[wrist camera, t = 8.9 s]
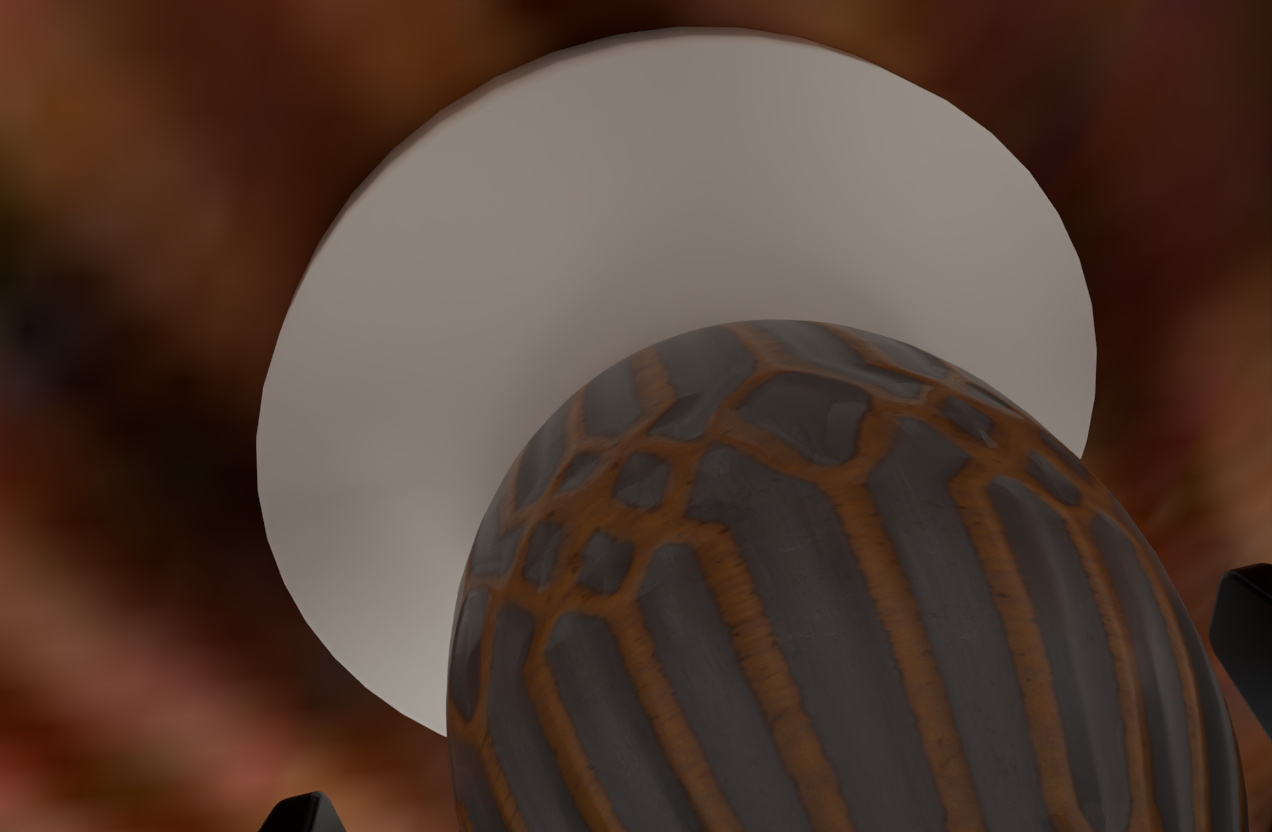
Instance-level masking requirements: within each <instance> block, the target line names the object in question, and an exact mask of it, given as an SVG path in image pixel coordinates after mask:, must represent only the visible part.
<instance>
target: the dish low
mask: <svg viewBox="0 0 1272 832" xmlns="http://www.w3.org/2000/svg"><path fill="white" fill-rule="evenodd" d="M764 319H771V320H803V321H815V322H826V323H832V324H838V325H844V326H849V327H853V328H857V329H861V330H865V331H869V332H872V333H875V334H879V335H882V336H886V337H889V338H892V339H895V340H898V341H901V342H904V343H907V344H910V345H913V346H915V347H917V348H920V349H922V350H924V351H926V352H929V353H931V354H933V355H935V356H937V357H939V358H941V359H943V360H945V361H947V362H950V363H952V364H954V365H956V366H958V367H960V368H962V369H964V370H966V371H967V372H969V373H971V374H973V375H974V376H976V377H978V378H980V379H981V380H983V381H985V382H986V383H987V384H989V385H990V386H992V387H993V388H994V389H996V390H997V391H999V392H1000V393H1001V394H1003V395H1004V396H1006V397H1007V398H1008V399H1010V400H1011V401H1012V402H1014V403H1015V404H1016V405H1018V406H1019V407H1020V408H1022V409H1023V410H1024V411H1026V412H1027V413H1028V414H1030V415H1031V416H1032V417H1033V418H1035V419H1036V420H1037V421H1038V422H1039V423H1040V424H1041V425H1042V426H1044V427H1045V428H1046V429H1047V430H1048V431H1049V432H1050V433H1051V434H1053V435H1054V436H1055V437H1056V438H1057V439H1058V440H1059V441H1060V442H1062V443H1063V444H1064V445H1065V446H1066V447H1067V448H1068V449H1069V450H1070V451H1072V452H1073V453H1074V454H1075V455H1076V456H1077V457H1078V458H1079V459H1080V460H1081V457H1082V454H1083V451H1084V448H1085V445H1086V441H1087V437H1088V431H1089V426H1090V420H1091V415H1092V409H1093V404H1094V398H1095V382H1096V356H1097V348H1096V339H1095V330H1094V321H1093V312H1092V303H1091V300H1090V296H1089V293H1088V289H1087V285H1086V282H1085V278H1084V274H1083V271H1082V267H1081V264H1080V260H1079V257H1078V255H1077V253H1076V251H1075V248H1074V246H1073V244H1072V242H1071V240H1070V238H1069V235H1068V233H1067V231H1066V229H1065V227H1064V225H1063V223H1062V220H1061V218H1060V216H1059V214H1058V212H1057V211H1056V209H1055V208H1054V207H1053V205H1052V204H1051V202H1050V201H1049V199H1048V198H1047V196H1046V195H1045V194H1044V192H1043V191H1042V189H1041V188H1040V186H1039V185H1038V183H1037V182H1036V180H1035V179H1034V178H1033V176H1032V175H1031V173H1030V172H1029V171H1028V170H1027V169H1026V168H1025V167H1024V166H1023V165H1022V164H1021V163H1020V162H1019V160H1018V159H1017V158H1016V157H1015V156H1014V155H1013V154H1012V153H1011V152H1010V151H1009V150H1008V149H1007V148H1006V147H1005V146H1004V145H1003V144H1002V143H1001V142H1000V141H999V140H998V139H997V138H996V137H995V136H994V135H993V134H992V133H991V132H989V131H988V130H987V129H985V128H984V127H982V126H981V125H980V124H978V123H977V122H976V121H974V120H973V119H971V118H970V117H969V116H967V115H966V114H965V113H963V112H962V111H960V110H959V109H958V108H956V107H955V106H954V105H952V104H951V103H950V102H948V101H947V100H945V99H943V98H941V97H939V96H937V95H935V94H933V93H931V92H929V91H927V90H925V89H923V88H921V87H919V86H917V85H915V84H913V83H911V82H909V81H907V80H905V79H903V78H901V77H899V76H897V75H895V74H893V73H891V72H889V71H887V70H885V69H883V68H881V67H879V66H877V65H875V64H873V63H870V62H868V61H866V60H864V59H862V58H860V57H858V56H856V55H854V54H851V53H848V52H845V51H842V50H839V49H835V48H832V47H829V46H826V45H823V44H820V43H817V42H814V41H811V40H807V39H804V38H801V37H797V36H791V35H784V34H778V33H772V32H766V31H760V30H753V29H747V28H741V27H671V28H664V29H656V30H648V31H641V32H633V33H625V34H617V35H613V36H609V37H606V38H602V39H598V40H595V41H591V42H587V43H584V44H580V45H577V46H573V47H569V48H566V49H562V50H558V51H555V52H552V53H550V54H547V55H545V56H543V57H541V58H538V59H536V60H534V61H531V62H529V63H527V64H524V65H522V66H520V67H517V68H515V69H513V70H510V71H508V72H506V73H503V74H501V75H499V76H496V77H494V78H493V79H491V80H489V81H488V82H486V83H484V84H483V85H481V86H479V87H478V88H476V89H475V90H473V91H471V92H470V93H468V94H466V95H465V96H463V97H461V98H460V99H458V100H456V101H455V102H453V103H451V104H450V105H448V106H446V107H445V108H443V109H442V110H440V111H439V112H438V113H436V114H435V115H434V116H433V117H432V118H430V119H429V120H428V121H427V122H425V123H424V124H423V125H422V126H420V127H419V128H418V129H417V130H416V131H414V132H413V133H412V134H411V135H409V136H408V137H407V138H406V139H405V140H403V141H402V142H401V143H400V144H398V145H397V146H396V147H395V148H393V149H392V150H391V152H390V153H389V154H388V155H387V156H386V157H385V158H384V159H383V160H382V161H381V162H380V163H379V165H378V166H377V167H376V168H375V169H374V170H373V171H372V172H371V173H370V174H369V175H368V176H367V178H366V179H365V180H364V181H363V182H362V183H361V184H360V185H359V186H358V187H357V188H356V189H355V191H354V192H353V193H352V194H351V195H350V197H349V198H348V200H347V201H346V203H345V204H344V206H343V207H342V209H341V210H340V212H339V213H338V214H337V216H336V217H335V219H334V220H333V222H332V223H331V225H330V226H329V228H328V229H327V231H326V232H325V233H324V235H323V236H322V238H321V239H320V241H319V243H318V245H317V247H316V249H315V251H314V253H313V255H312V257H311V259H310V261H309V263H308V266H307V268H306V270H305V272H304V274H303V276H302V278H301V280H300V282H299V284H298V286H297V288H296V290H295V293H294V296H293V298H292V301H291V304H290V306H289V309H288V312H287V315H286V317H285V320H284V323H283V325H282V328H281V331H280V334H279V337H278V340H277V344H276V347H275V350H274V353H273V357H272V360H271V363H270V367H269V370H268V373H267V377H266V380H265V383H264V386H263V393H262V401H261V408H260V416H259V423H258V430H257V438H256V449H257V481H258V494H259V499H260V504H261V509H262V514H263V519H264V524H265V530H266V535H267V539H268V542H269V544H270V547H271V550H272V552H273V555H274V558H275V560H276V563H277V566H278V568H279V571H280V574H281V576H282V579H283V582H284V584H285V586H286V587H287V589H288V591H289V593H290V594H291V596H292V598H293V600H294V601H295V603H296V605H297V607H298V608H299V610H300V612H301V614H302V615H303V617H304V619H305V621H306V622H307V624H308V625H309V626H310V627H311V629H312V630H313V631H314V632H315V634H316V635H317V636H318V637H319V639H320V640H321V641H322V643H323V644H324V645H325V646H326V648H327V649H328V650H329V651H330V653H331V654H332V655H333V656H334V658H335V659H336V660H338V661H339V662H340V663H341V664H342V665H343V666H344V667H345V668H346V669H347V670H348V671H349V672H350V673H351V674H352V675H353V676H354V677H355V678H357V679H358V680H359V681H360V682H361V683H362V684H363V685H364V686H365V687H366V688H367V689H369V690H370V691H371V692H373V693H374V694H376V695H377V696H378V697H380V698H381V699H383V700H384V701H385V702H387V703H388V704H390V705H391V706H392V707H394V708H395V709H396V710H398V711H399V712H401V713H402V714H404V715H406V716H407V717H409V718H411V719H413V720H415V721H417V722H419V723H420V724H422V725H424V726H426V727H428V728H430V729H431V730H433V731H435V732H437V733H439V734H441V735H443V736H446V737H447V730H446V692H447V673H448V658H449V647H450V639H451V632H452V624H453V617H454V610H455V605H456V599H457V594H458V589H459V585H460V582H461V578H462V575H463V572H464V568H465V565H466V562H467V559H468V556H469V554H470V551H471V548H472V545H473V542H474V539H475V536H476V534H477V531H478V529H479V526H480V524H481V521H482V519H483V517H484V515H485V513H486V511H487V509H488V507H489V505H490V503H491V501H492V499H493V497H494V495H495V493H496V492H497V490H498V488H499V486H500V484H501V482H502V480H503V478H504V477H505V475H506V473H507V472H508V470H509V469H510V467H511V465H512V464H513V462H514V461H515V459H516V458H517V456H518V455H519V454H520V452H521V451H522V450H523V448H524V447H525V446H526V444H527V443H528V441H529V440H530V439H531V438H532V437H533V436H534V435H535V433H536V432H537V431H538V430H539V429H540V428H541V427H542V425H543V424H544V423H545V422H546V421H547V420H548V419H549V418H550V417H551V415H552V414H553V413H554V412H555V411H556V410H557V409H558V408H559V407H560V406H561V405H562V404H563V403H564V402H565V401H566V400H567V399H568V398H570V397H571V396H572V395H573V394H574V393H576V392H577V391H578V390H579V389H580V388H582V387H583V386H584V385H585V384H587V383H588V382H589V381H591V380H592V379H593V378H595V377H596V376H598V375H599V374H600V373H602V372H603V371H605V370H606V369H608V368H610V367H611V366H613V365H614V364H616V363H618V362H619V361H621V360H623V359H625V358H627V357H629V356H630V355H632V354H634V353H636V352H638V351H640V350H642V349H644V348H647V347H649V346H651V345H653V344H656V343H658V342H660V341H663V340H666V339H669V338H671V337H674V336H677V335H680V334H683V333H686V332H690V331H693V330H697V329H700V328H705V327H710V326H714V325H719V324H724V323H732V322H739V321H749V320H764Z"/></svg>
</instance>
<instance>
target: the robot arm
mask: <svg viewBox="0 0 1272 832" xmlns="http://www.w3.org/2000/svg"><path fill="white" fill-rule="evenodd" d="M1209 639H1210V643H1211V646H1212V648H1213V651H1214V653H1215V655H1216V656H1217V658H1218V660H1219V661H1220V663H1221V664H1222V666H1223V667H1224V669H1225V671H1226V672H1227V674H1228V675H1229V677H1230V678H1231V680H1232V681H1233V683H1234V685H1235V686H1236V688H1237V689H1238V691H1239V692H1240V694H1241V695H1242V697H1243V699H1244V700H1245V702H1246V703H1247V705H1248V706H1249V708H1250V709H1251V711H1252V713H1253V714H1254V716H1255V717H1256V719H1257V720H1258V722H1259V723H1260V725H1261V727H1262V728H1263V730H1264V731H1265V733H1266V734H1267V736H1268V737H1269V739H1270V741H1271V742H1272V564H1267V563H1258V564H1253V565H1249V566H1245V567H1241V568H1237V569H1233V570H1229V571H1227V572H1225V573H1224V574H1223V575H1222V577H1221V578H1220V580H1219V583H1218V587H1217V592H1216V597H1215V601H1214V606H1213V610H1212V615H1211V619H1210V624H1209ZM258 832H346V830H345V828H344V826H343V824H342V823H341V821H340V819H339V817H338V815H337V813H336V811H335V809H334V807H333V805H332V803H331V801H330V800H329V798H328V797H327V795H326V794H324V793H323V792H320V791H318V792H317V791H315V792H311V793H307V794H303V795H299V796H294V797H290V798H287V799H284V800H282V801H280V802H279V803H278V804H277V805H276V806H275V807H274V808H273V809H272V811H271V812H270V814H269V815H268V817H267V818H266V820H265V822H264V823H263V825H262V826H261V828H260V829H259V831H258Z"/></svg>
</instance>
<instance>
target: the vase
mask: <svg viewBox="0 0 1272 832" xmlns="http://www.w3.org/2000/svg"><path fill="white" fill-rule="evenodd" d="M446 730H447V754H448V768H449V775H450V783H451V789H452V794H453V800H454V806H455V812H456V818H457V823H458V826H459V830H460V832H1249V825H1248V807H1247V796H1246V790H1245V783H1244V776H1243V769H1242V763H1241V757H1240V752H1239V747H1238V743H1237V739H1236V735H1235V732H1234V728H1233V725H1232V721H1231V718H1230V714H1229V711H1228V707H1227V704H1226V701H1225V698H1224V695H1223V692H1222V690H1221V687H1220V684H1219V682H1218V679H1217V677H1216V674H1215V671H1214V669H1213V666H1212V664H1211V661H1210V659H1209V656H1208V654H1207V651H1206V648H1205V646H1204V644H1203V642H1202V640H1201V638H1200V635H1199V633H1198V631H1197V629H1196V627H1195V625H1194V623H1193V621H1192V619H1191V617H1190V615H1189V613H1188V610H1187V608H1186V606H1185V604H1184V603H1183V601H1182V599H1181V597H1180V595H1179V593H1178V591H1177V589H1176V587H1175V586H1174V584H1173V582H1172V580H1171V579H1170V577H1169V575H1168V573H1167V572H1166V570H1165V568H1164V566H1163V565H1162V563H1161V561H1160V559H1159V558H1158V556H1157V554H1156V553H1155V551H1154V550H1153V548H1152V547H1151V545H1150V544H1149V543H1148V541H1147V540H1146V538H1145V537H1144V535H1143V534H1142V533H1141V531H1140V530H1139V528H1138V527H1137V526H1136V524H1135V523H1134V521H1133V520H1132V519H1131V517H1130V516H1129V514H1128V513H1127V512H1126V510H1125V509H1124V507H1123V506H1122V505H1121V503H1120V502H1119V501H1118V500H1117V499H1116V498H1115V497H1114V495H1113V494H1112V493H1111V492H1110V491H1109V490H1108V489H1107V488H1106V487H1105V486H1104V484H1103V483H1102V482H1101V481H1100V480H1099V479H1098V478H1097V477H1096V476H1095V475H1094V474H1093V473H1092V472H1091V470H1090V469H1089V468H1088V467H1087V466H1086V465H1085V464H1084V463H1083V462H1082V461H1081V460H1080V459H1079V458H1078V457H1077V456H1076V455H1075V454H1074V453H1073V452H1072V451H1070V450H1069V449H1068V448H1067V447H1066V446H1065V445H1064V444H1063V443H1062V442H1060V441H1059V440H1058V439H1057V438H1056V437H1055V436H1054V435H1053V434H1051V433H1050V432H1049V431H1048V430H1047V429H1046V428H1045V427H1044V426H1042V425H1041V424H1040V423H1039V422H1038V421H1037V420H1036V419H1035V418H1033V417H1032V416H1031V415H1030V414H1028V413H1027V412H1026V411H1024V410H1023V409H1022V408H1020V407H1019V406H1018V405H1016V404H1015V403H1014V402H1012V401H1011V400H1010V399H1008V398H1007V397H1006V396H1004V395H1003V394H1001V393H1000V392H999V391H997V390H996V389H994V388H993V387H992V386H990V385H989V384H987V383H986V382H985V381H983V380H981V379H980V378H978V377H976V376H974V375H973V374H971V373H969V372H967V371H966V370H964V369H962V368H960V367H958V366H956V365H954V364H952V363H950V362H947V361H945V360H943V359H941V358H939V357H937V356H935V355H933V354H931V353H929V352H926V351H924V350H922V349H920V348H917V347H915V346H913V345H910V344H907V343H904V342H901V341H898V340H895V339H892V338H889V337H886V336H882V335H879V334H875V333H872V332H869V331H865V330H861V329H857V328H853V327H849V326H844V325H838V324H832V323H826V322H815V321H803V320H771V319H764V320H749V321H739V322H732V323H724V324H719V325H714V326H710V327H705V328H700V329H697V330H693V331H690V332H686V333H683V334H680V335H677V336H674V337H671V338H669V339H666V340H663V341H660V342H658V343H656V344H653V345H651V346H649V347H647V348H644V349H642V350H640V351H638V352H636V353H634V354H632V355H630V356H629V357H627V358H625V359H623V360H621V361H619V362H618V363H616V364H614V365H613V366H611V367H610V368H608V369H606V370H605V371H603V372H602V373H600V374H599V375H598V376H596V377H595V378H593V379H592V380H591V381H589V382H588V383H587V384H585V385H584V386H583V387H582V388H580V389H579V390H578V391H577V392H576V393H574V394H573V395H572V396H571V397H570V398H568V399H567V400H566V401H565V402H564V403H563V404H562V405H561V406H560V407H559V408H558V409H557V410H556V411H555V412H554V413H553V414H552V415H551V417H550V418H549V419H548V420H547V421H546V422H545V423H544V424H543V425H542V427H541V428H540V429H539V430H538V431H537V432H536V433H535V435H534V436H533V437H532V438H531V439H530V440H529V441H528V443H527V444H526V446H525V447H524V448H523V450H522V451H521V452H520V454H519V455H518V456H517V458H516V459H515V461H514V462H513V464H512V465H511V467H510V469H509V470H508V472H507V473H506V475H505V477H504V478H503V480H502V482H501V484H500V486H499V488H498V490H497V492H496V493H495V495H494V497H493V499H492V501H491V503H490V505H489V507H488V509H487V511H486V513H485V515H484V517H483V519H482V521H481V524H480V526H479V529H478V531H477V534H476V536H475V539H474V542H473V545H472V548H471V551H470V554H469V556H468V559H467V562H466V565H465V568H464V572H463V575H462V578H461V582H460V585H459V589H458V594H457V599H456V605H455V610H454V617H453V624H452V632H451V639H450V647H449V658H448V673H447V692H446Z"/></svg>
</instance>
